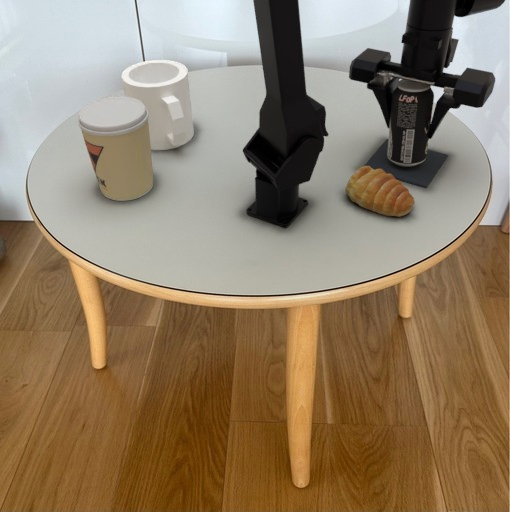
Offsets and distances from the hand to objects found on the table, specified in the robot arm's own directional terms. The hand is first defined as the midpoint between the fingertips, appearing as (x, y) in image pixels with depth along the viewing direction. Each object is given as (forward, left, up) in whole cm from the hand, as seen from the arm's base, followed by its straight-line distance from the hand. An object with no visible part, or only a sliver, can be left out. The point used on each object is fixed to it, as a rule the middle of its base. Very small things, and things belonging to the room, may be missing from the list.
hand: (410, 132), depth 84 cm
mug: (-12, +37, -5) cm, 39 cm away
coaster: (0, 0, -5) cm, 5 cm away
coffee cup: (-26, +33, -5) cm, 42 cm away
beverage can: (0, 0, -5) cm, 5 cm away
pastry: (-11, 0, -5) cm, 12 cm away
